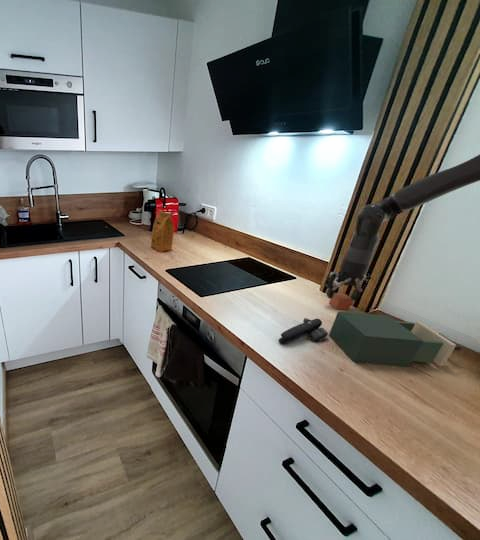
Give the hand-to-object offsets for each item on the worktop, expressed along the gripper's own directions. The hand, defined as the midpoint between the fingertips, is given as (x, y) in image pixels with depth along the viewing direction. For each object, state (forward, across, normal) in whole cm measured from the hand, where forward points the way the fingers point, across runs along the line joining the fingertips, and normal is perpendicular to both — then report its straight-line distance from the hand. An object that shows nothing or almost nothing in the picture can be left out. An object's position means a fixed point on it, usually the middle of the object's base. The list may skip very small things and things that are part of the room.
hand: (341, 298), depth 109 cm
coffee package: (+4, -67, +56) cm, 87 cm away
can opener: (+4, -25, -24) cm, 35 cm away
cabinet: (+4, -7, -27) cm, 28 cm away
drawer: (+3, +5, -27) cm, 27 cm away
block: (+4, 0, 0) cm, 4 cm away
